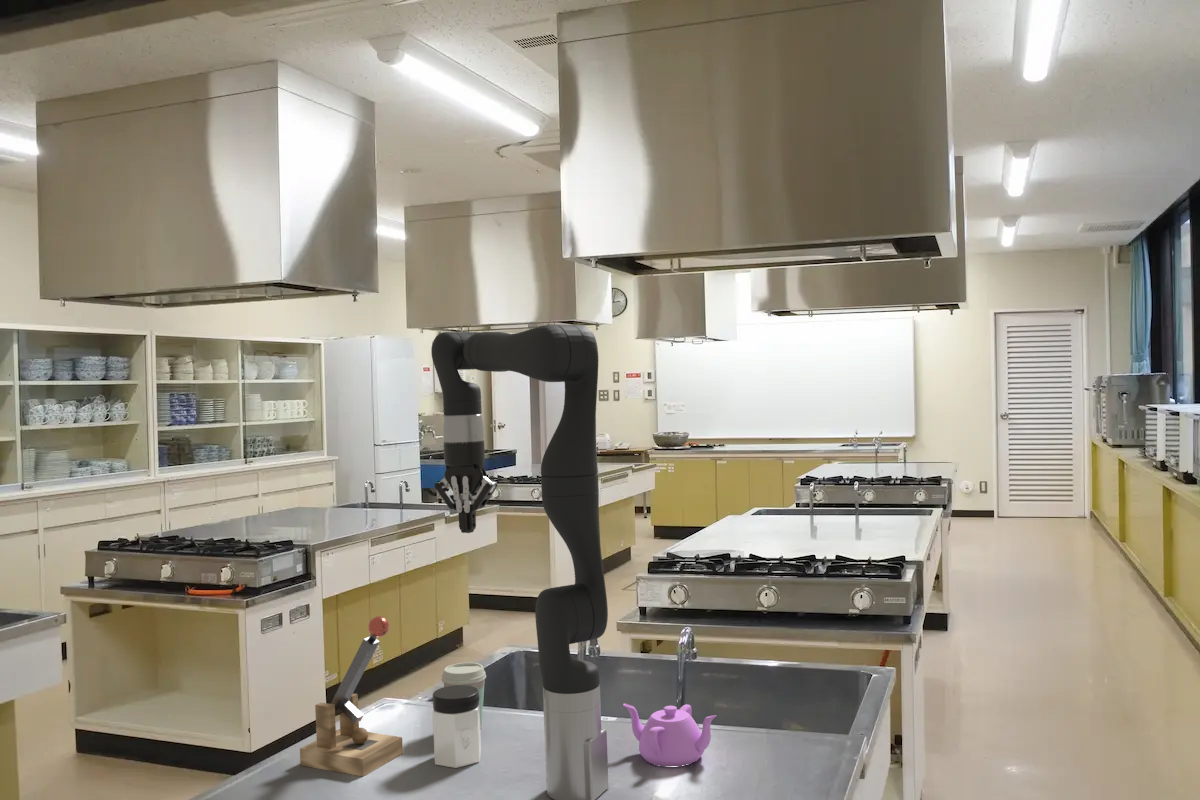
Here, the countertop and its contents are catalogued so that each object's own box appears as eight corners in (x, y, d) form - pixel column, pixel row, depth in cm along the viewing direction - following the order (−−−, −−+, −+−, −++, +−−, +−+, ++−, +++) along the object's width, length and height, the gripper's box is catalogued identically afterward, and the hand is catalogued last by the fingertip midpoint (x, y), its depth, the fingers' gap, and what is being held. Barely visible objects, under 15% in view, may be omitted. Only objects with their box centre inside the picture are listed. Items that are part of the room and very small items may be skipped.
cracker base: (402, 753, 178) (400, 696, 178) (363, 776, 168) (360, 715, 168) (342, 743, 184) (339, 688, 184) (300, 765, 174) (298, 706, 174)
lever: (361, 725, 178) (410, 633, 172) (345, 733, 174) (395, 639, 168) (336, 702, 180) (383, 609, 175) (320, 709, 176) (368, 615, 171)
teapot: (719, 765, 167) (717, 714, 167) (639, 775, 164) (638, 722, 164) (698, 741, 179) (696, 693, 179) (624, 749, 176) (622, 700, 176)
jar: (444, 772, 169) (442, 702, 168) (425, 758, 175) (423, 691, 175) (491, 759, 174) (488, 692, 173) (471, 746, 180) (468, 681, 180)
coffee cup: (497, 726, 191) (494, 664, 190) (469, 740, 183) (466, 676, 183) (463, 719, 195) (460, 659, 195) (434, 733, 188) (431, 671, 188)
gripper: (504, 437, 183) (508, 530, 183) (445, 438, 189) (449, 528, 189) (483, 440, 176) (487, 536, 176) (422, 441, 182) (426, 534, 182)
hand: (467, 532), depth 183 cm, fingers closed
